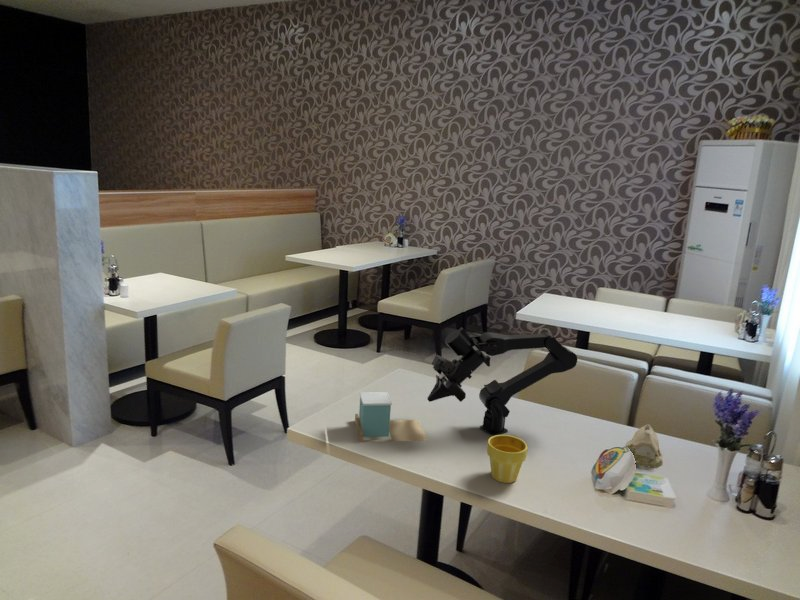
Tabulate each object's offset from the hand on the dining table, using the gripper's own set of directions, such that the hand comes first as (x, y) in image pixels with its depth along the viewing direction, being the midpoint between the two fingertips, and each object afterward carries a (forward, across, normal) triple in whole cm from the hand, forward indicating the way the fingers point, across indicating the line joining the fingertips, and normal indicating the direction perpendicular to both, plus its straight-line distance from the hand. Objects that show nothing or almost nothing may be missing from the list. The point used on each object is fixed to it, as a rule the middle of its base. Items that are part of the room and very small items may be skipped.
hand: (428, 400), depth 174 cm
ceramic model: (-35, +19, +51) cm, 65 cm away
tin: (+18, 0, -5) cm, 19 cm away
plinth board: (+15, 0, -1) cm, 15 cm away
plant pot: (-3, +28, +18) cm, 33 cm away
